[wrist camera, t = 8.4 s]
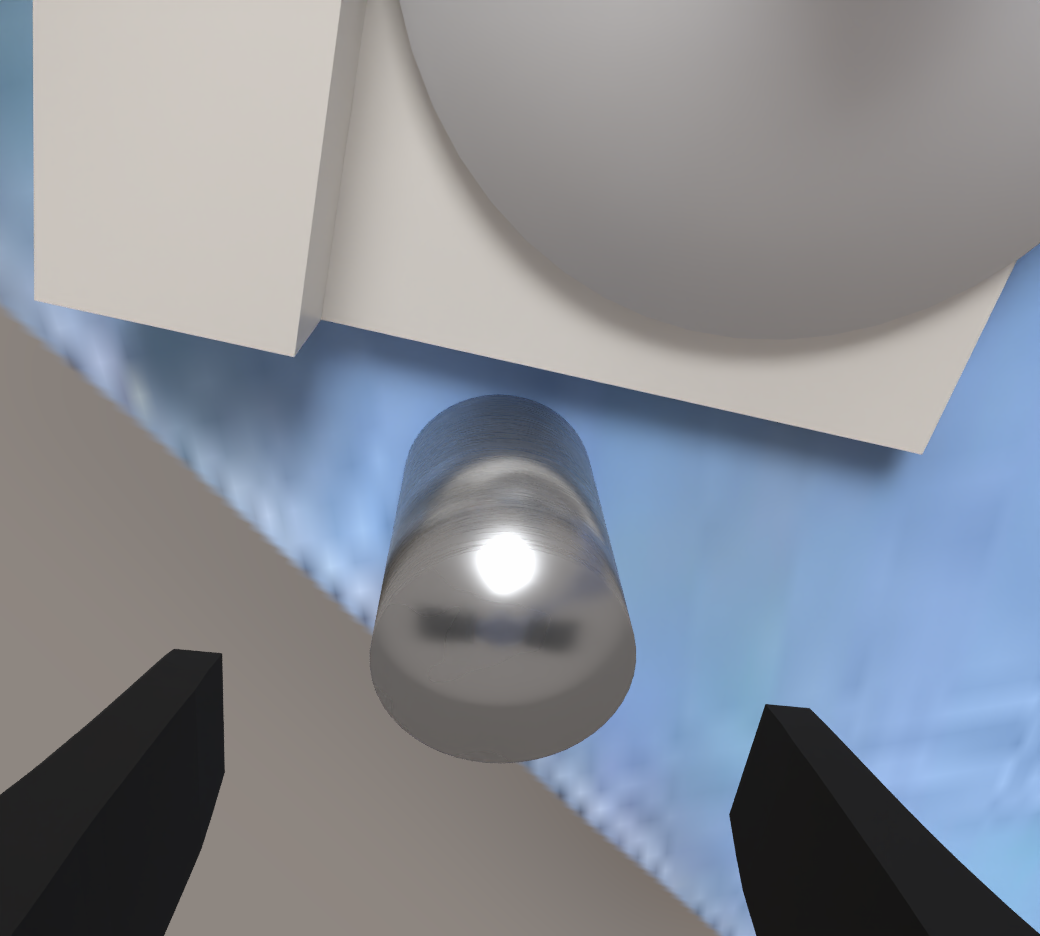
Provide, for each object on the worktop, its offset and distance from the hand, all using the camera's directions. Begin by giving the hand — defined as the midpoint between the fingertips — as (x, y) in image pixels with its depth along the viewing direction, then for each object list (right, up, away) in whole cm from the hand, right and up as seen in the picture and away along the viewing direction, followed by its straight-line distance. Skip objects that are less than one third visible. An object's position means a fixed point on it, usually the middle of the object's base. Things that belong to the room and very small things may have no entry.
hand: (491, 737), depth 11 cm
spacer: (0, +3, +7) cm, 8 cm away
